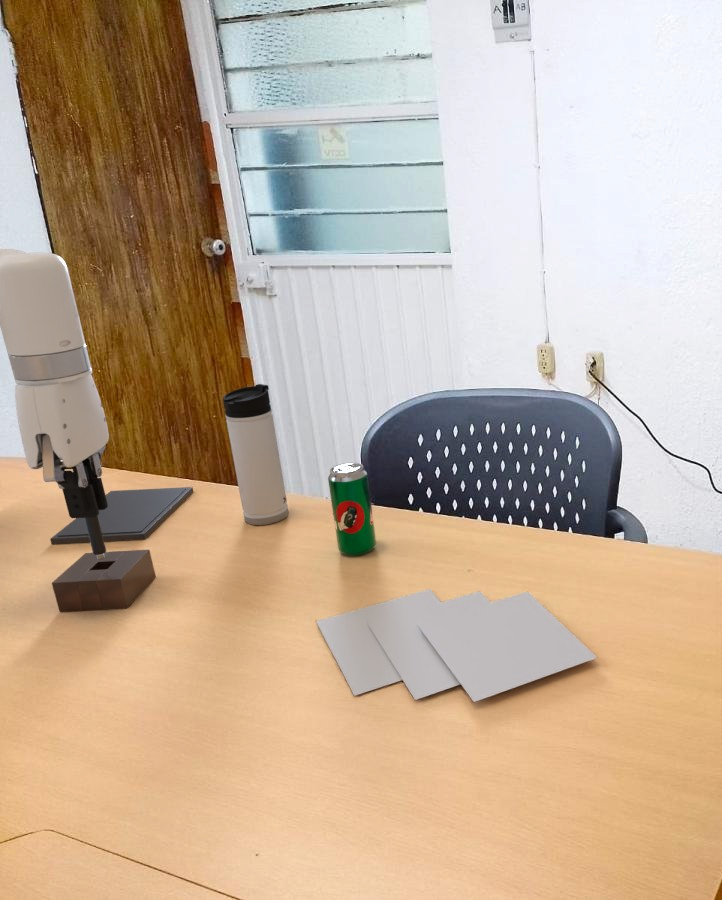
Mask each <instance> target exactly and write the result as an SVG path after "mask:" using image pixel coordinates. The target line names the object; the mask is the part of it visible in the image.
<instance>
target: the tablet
mask: <svg viewBox="0 0 722 900" xmlns="http://www.w3.org/2000/svg"><path fill="white" fill-rule="evenodd" d="M193 493H194V487H193V486H185V487H161V488H143V489H142V488H141V489H123V490H121V489H119V490H110V491H109V492H107V493H105V495H106V499H107V504H108V507H107V508H106V509H105V510H99V514H98V519H99V523H100V527H101V531H102V535H103V540H104V543H105V542H106V543H107V542H122V541H123V542H124V541H143V540H146V539H147V538H149V537H150V535H152V533H154V531H155V530H157V529H158V528H159V527H160V525H162V524H163V523H164V522H165V521H166V520H167V519H168V518H169V517H170V516H171V515H172V513H174V512H175V511H176V510H177V509H178V508H179V507H180V506H181V505H182V504H183V503H184V502H185V501H186V500H187V499H188V498H189V497H190V496H191V495H192V494H193ZM49 540H50V543H51V545H65V544H67V545H68V544H85V543H86V544H87V543H90V539H89V535H88V531H87V526H86V522H85V518H74V519H73V520H72V521H71V522H70V523H68V524H67V525H65V527H63V528H61V530H59V531H58V532H57V533H55V534H54V535H53V536H52V537H50V539H49Z"/></svg>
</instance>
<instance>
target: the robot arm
mask: <svg viewBox="0 0 722 900" xmlns="http://www.w3.org/2000/svg"><path fill="white" fill-rule="evenodd" d="M0 331H1V334H2V338H3V342H4V345H5V350H6V353H7V356H8V360H9V364H10V367H11V371H12V374H13V379H14V383H15V384H16V385H15V386H14V399H15V400H14V401H15V410H16V417H17V424H18V429H19V434H20V438H21V443H22V448H23V452H24V456H25V460H26V464H27V465H28V467H29V468H30V469H32V470H39V469H42V477H43V478H42V479H43V482H44V483H53V482H54V483H57V486H58V488H59V490H62V494H63V497H64V500H65V504H66V508H67V512H68V516H69V517H70V518H71V519H76V518H88V517H96V516H97V515H98V514H99V510H105V509H106V508H107V507H108V504H107V499H106V492H105V488H104V483H103V480H102V476H103V468H102V464H101V458H102V455H103V453H104V451H105V450H106V448H107V447H106V444H108V442H109V440H110V434H109V428H108V423H107V419H106V418H107V417H106V414H105V410H104V408H103V407H104V406H103V404H102V400H101V397H100V395H99V390H98V389H97V385H96V383H95V379H94V377H93V375H92V374H93V368H92V365H91V361H90V357H89V351H88V348H87V345H86V341H85V335H84V332H83V327H82V324H81V319H80V314H79V311H78V307H77V302H76V298H75V294H74V290H73V286H72V281H71V277H70V272H69V268H68V266H67V264H66V262H65V260H64V259H63V258H62V257H61V256H60V255H58V254H57V253H56V254H55V253H52V252H25V251H22V250H18V249H13V248H0ZM83 466H86V468H87V473H88V477H89V481H90V485H88V481H87V477H86V474H85V470H84V467H83ZM73 470H74V473H73Z"/></svg>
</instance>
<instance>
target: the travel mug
mask: <svg viewBox="0 0 722 900" xmlns="http://www.w3.org/2000/svg"><path fill="white" fill-rule="evenodd" d="M269 390H270V388H269V385H268V384H263V383H258V384H254V385H252V386H246V387H240V388H238V389H237V388H236V389H234V390H232V391H230V392H228V393H226V394H225V395H224V396H223V397H222V403H223V408H224V413H225V419H226V420H225V422H226V427H227V432H228V437H229V443H230V448H231V453H232V460H233V464H234V465H233V466H234V470H235V474H236V476H235V477H236V481H237V487H238V491H239V497H240V502H241V507H242V512H243V519H244V521H245V522H246V523H247V524H249V525H253V526H266V525H272V524H276V523H279V522H281V521H282V520H284V519H286V518H287V516H288V515H289V513H290V512H289V506H288V500H287V494H286V487H285V482H284V476H283V469H282V464H281V458H280V451H279V445H278V439H277V433H276V427H275V421H274V415H273V409H272V406H271V400H270V394H269Z"/></svg>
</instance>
